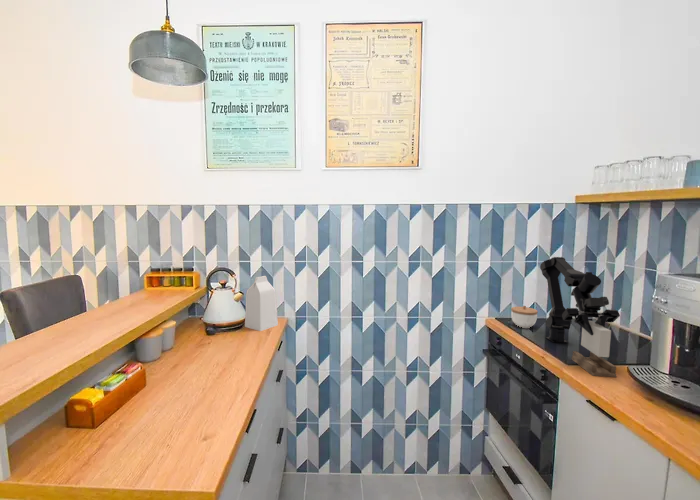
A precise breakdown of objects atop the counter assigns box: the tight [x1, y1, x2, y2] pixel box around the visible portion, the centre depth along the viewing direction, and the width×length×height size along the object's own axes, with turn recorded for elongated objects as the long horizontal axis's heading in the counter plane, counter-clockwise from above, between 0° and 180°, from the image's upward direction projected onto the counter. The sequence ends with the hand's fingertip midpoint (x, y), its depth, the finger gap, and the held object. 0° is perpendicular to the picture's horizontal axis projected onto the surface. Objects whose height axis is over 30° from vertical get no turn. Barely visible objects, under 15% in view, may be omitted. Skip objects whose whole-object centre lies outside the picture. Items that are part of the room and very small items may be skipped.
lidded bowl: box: [510, 305, 539, 329], centre depth 185 cm, size 13×13×11 cm
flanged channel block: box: [571, 350, 617, 378], centre depth 133 cm, size 15×8×4 cm, turn 173°
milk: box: [244, 275, 279, 332], centre depth 179 cm, size 12×12×26 cm
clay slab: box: [580, 320, 612, 358], centre depth 133 cm, size 12×4×10 cm, turn 173°
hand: (597, 335), depth 131 cm, fingers closed on clay slab, 3 cm apart
